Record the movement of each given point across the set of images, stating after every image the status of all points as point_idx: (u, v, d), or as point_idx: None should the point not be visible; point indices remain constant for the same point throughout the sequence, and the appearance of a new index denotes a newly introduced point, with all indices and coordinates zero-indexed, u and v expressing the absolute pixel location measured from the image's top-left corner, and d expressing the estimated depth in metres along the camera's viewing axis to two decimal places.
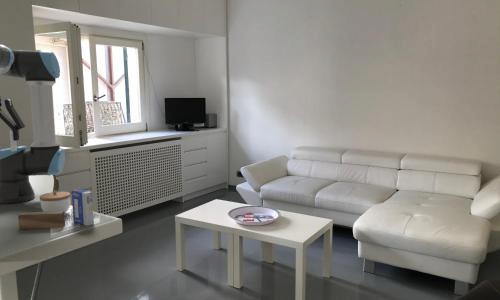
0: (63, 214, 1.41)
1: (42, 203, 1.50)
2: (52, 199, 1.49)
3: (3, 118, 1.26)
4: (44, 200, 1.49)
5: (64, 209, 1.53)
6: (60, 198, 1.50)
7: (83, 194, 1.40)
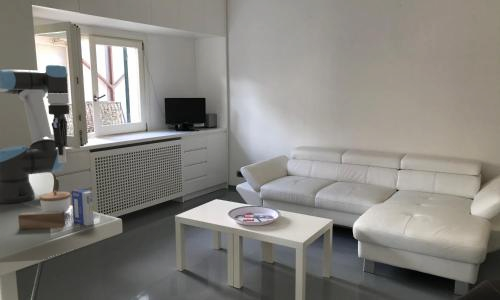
0: (63, 214, 1.41)
1: (42, 203, 1.50)
2: (52, 199, 1.49)
3: None
4: (44, 200, 1.49)
5: (64, 209, 1.53)
6: (60, 198, 1.50)
7: (83, 194, 1.40)
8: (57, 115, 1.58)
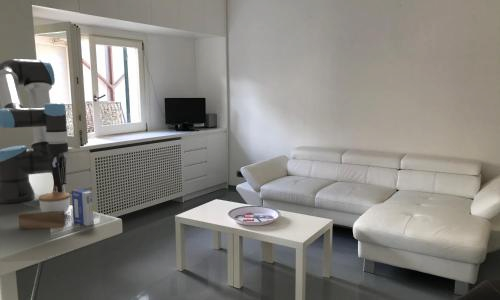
0: (63, 214, 1.41)
1: (41, 204, 1.49)
2: (51, 200, 1.48)
3: None
4: (43, 201, 1.48)
5: (63, 210, 1.52)
6: (59, 199, 1.49)
7: (83, 194, 1.40)
8: (56, 154, 1.55)
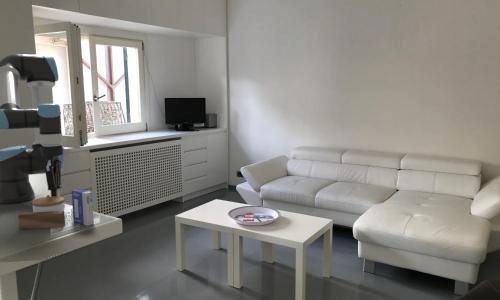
0: (63, 214, 1.41)
1: (34, 209, 1.42)
2: (45, 205, 1.41)
3: None
4: (36, 206, 1.41)
5: None
6: (53, 203, 1.43)
7: (83, 194, 1.40)
8: (50, 157, 1.48)
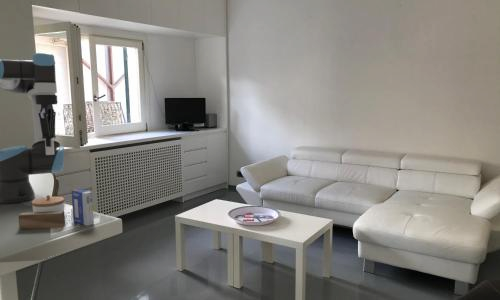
0: (63, 214, 1.41)
1: (34, 209, 1.42)
2: (45, 205, 1.41)
3: None
4: (36, 206, 1.41)
5: None
6: (53, 204, 1.43)
7: (83, 194, 1.40)
8: (44, 105, 1.52)
